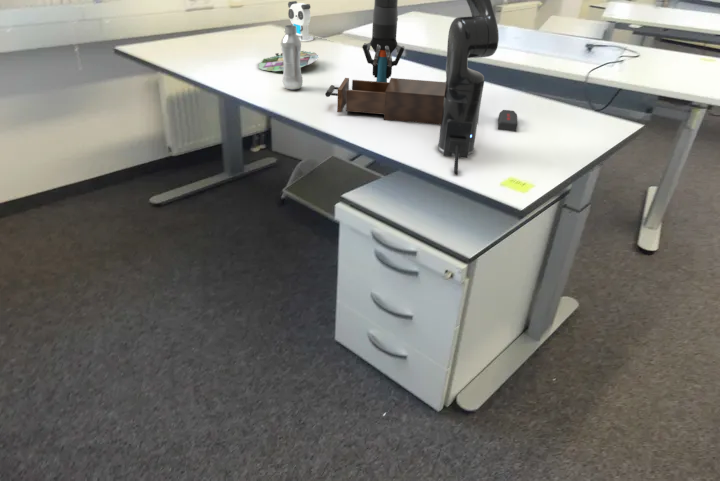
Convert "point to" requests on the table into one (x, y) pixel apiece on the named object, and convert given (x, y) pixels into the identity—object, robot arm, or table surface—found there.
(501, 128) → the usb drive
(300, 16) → the panda figurine
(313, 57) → the city model
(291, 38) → the plastic bottle
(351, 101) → the drawer
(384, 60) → the glue stick
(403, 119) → the cabinet
